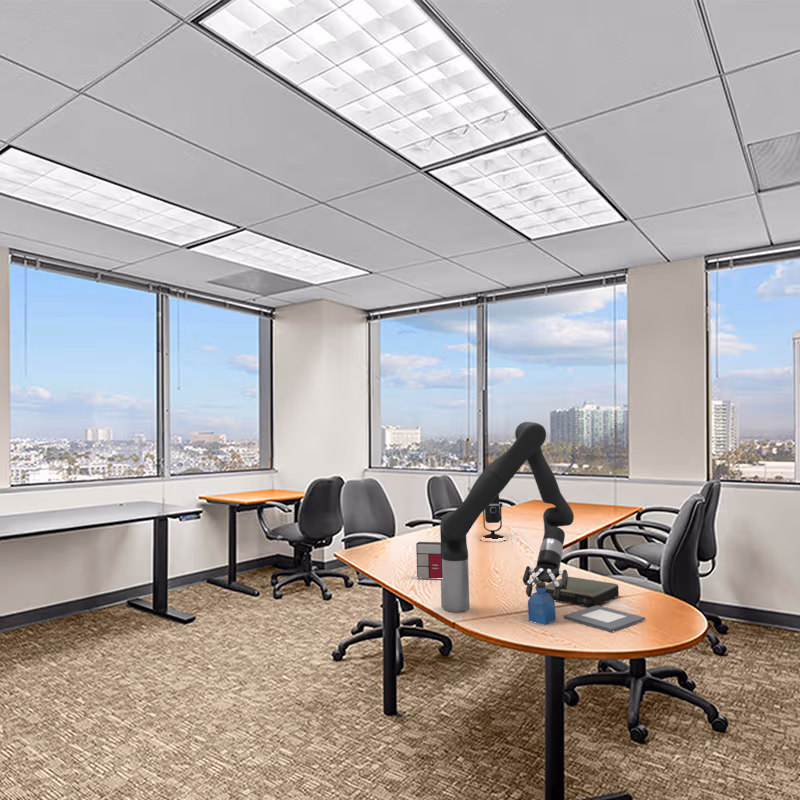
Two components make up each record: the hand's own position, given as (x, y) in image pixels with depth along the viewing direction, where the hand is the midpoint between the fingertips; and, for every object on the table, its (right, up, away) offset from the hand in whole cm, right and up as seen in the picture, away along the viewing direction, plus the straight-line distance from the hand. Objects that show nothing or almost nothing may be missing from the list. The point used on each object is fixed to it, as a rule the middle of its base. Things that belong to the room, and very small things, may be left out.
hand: (541, 597), depth 193 cm
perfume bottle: (0, -8, -1) cm, 8 cm away
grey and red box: (-33, -12, +59) cm, 69 cm away
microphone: (+8, -17, +149) cm, 150 cm away
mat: (+20, -7, -1) cm, 21 cm away
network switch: (+20, -9, +26) cm, 34 cm away
